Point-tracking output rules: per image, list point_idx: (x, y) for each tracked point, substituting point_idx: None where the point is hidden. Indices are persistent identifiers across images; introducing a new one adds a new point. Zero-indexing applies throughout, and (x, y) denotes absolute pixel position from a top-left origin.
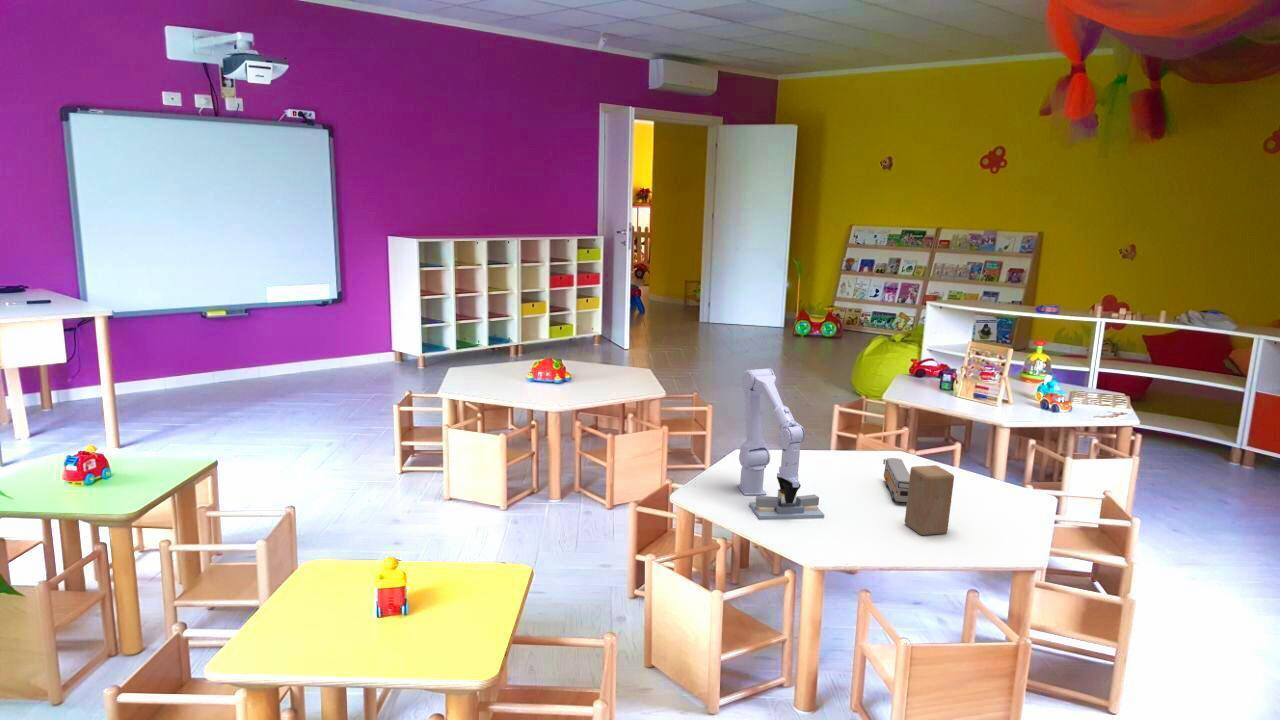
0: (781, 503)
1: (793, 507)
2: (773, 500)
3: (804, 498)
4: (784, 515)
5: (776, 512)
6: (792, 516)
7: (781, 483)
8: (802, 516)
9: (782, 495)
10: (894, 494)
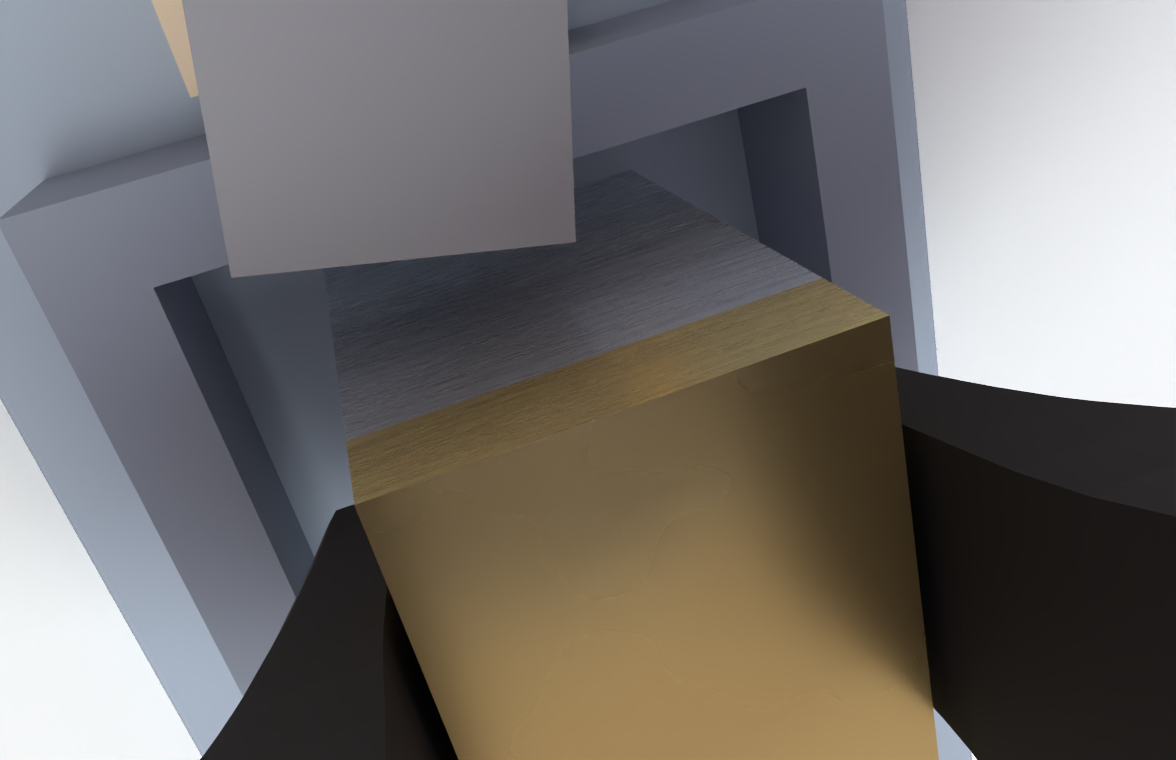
0: (335, 348)
1: (249, 655)
2: (199, 63)
3: None
4: (2, 372)
5: (152, 150)
6: (101, 547)
7: (1116, 572)
8: (200, 733)
9: (354, 493)
10: None
